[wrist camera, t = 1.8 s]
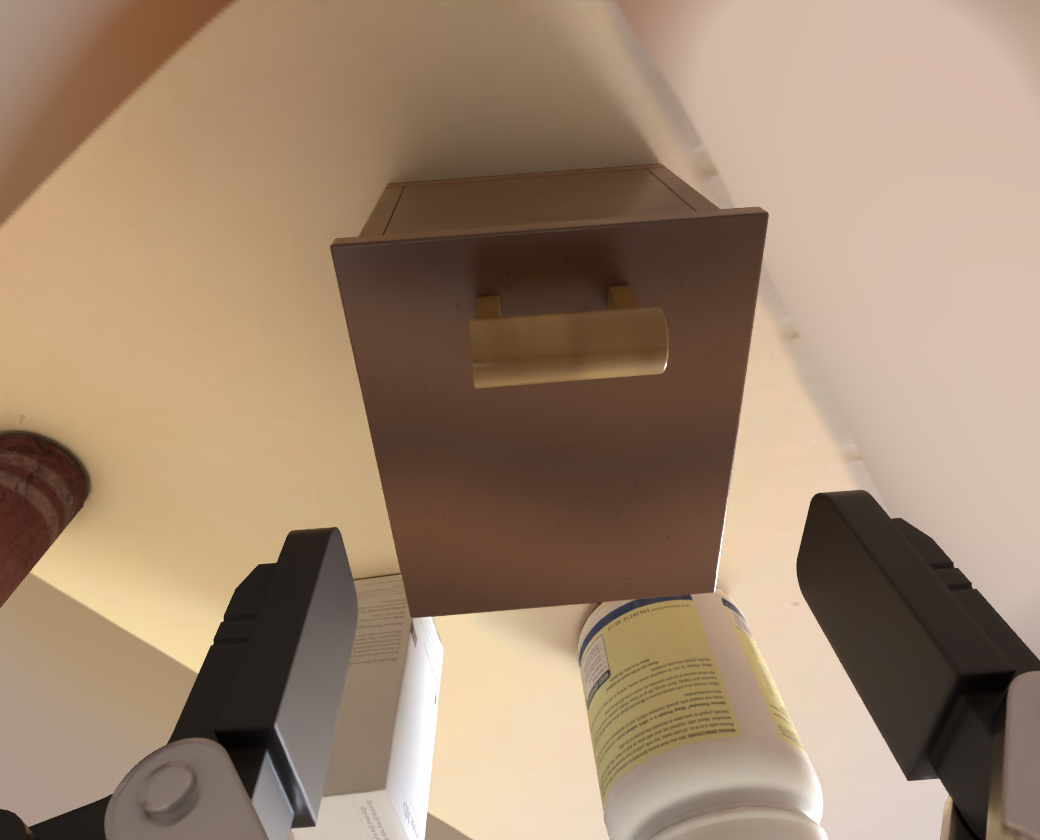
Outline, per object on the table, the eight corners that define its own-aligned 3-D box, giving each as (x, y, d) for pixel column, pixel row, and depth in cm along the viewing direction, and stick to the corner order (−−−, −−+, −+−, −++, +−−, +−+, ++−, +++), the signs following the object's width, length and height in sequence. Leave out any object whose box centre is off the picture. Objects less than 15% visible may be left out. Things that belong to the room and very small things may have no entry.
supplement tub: (553, 671, 49) (585, 941, 35) (608, 555, 43) (675, 824, 29) (699, 691, 51) (785, 951, 37) (770, 584, 45) (907, 845, 31)
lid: (334, 237, 19) (293, 298, 15) (759, 205, 19) (839, 257, 15) (412, 604, 27) (400, 711, 23) (709, 579, 28) (751, 680, 23)
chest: (386, 183, 30) (340, 266, 20) (661, 163, 30) (755, 235, 20) (429, 447, 38) (412, 603, 27) (647, 429, 38) (709, 578, 28)
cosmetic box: (444, 647, 47) (432, 878, 34) (363, 659, 47) (320, 893, 34) (418, 564, 42) (392, 794, 30) (328, 577, 43) (265, 812, 30)
